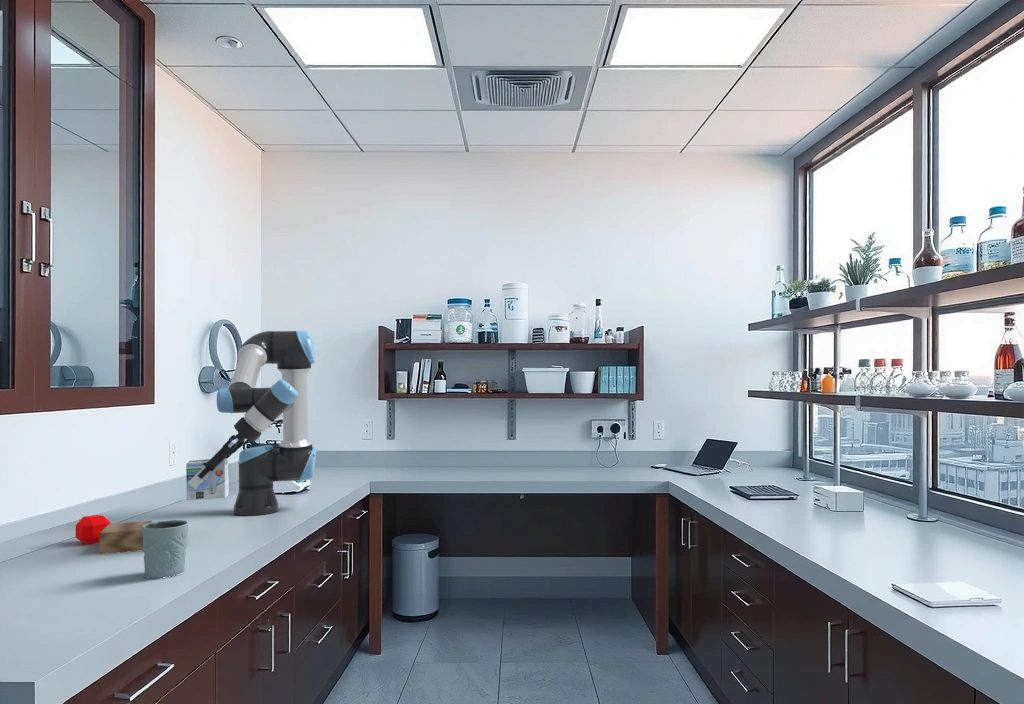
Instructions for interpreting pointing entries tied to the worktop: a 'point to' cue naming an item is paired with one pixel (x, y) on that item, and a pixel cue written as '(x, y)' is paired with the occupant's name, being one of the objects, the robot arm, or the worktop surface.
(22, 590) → the worktop surface
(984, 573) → the worktop surface
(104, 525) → the ball
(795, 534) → the worktop surface
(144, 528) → the grey green embossed cup
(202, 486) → the light bulb box
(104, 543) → the walnut block
